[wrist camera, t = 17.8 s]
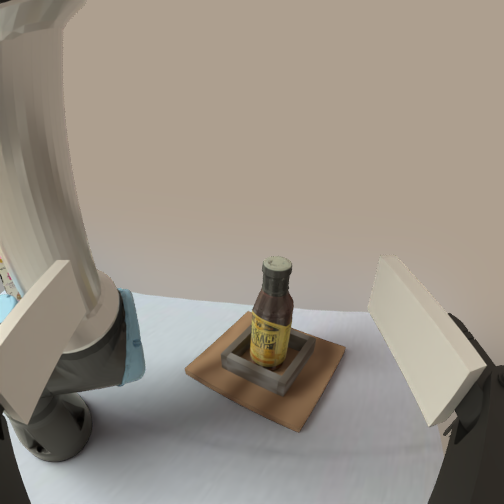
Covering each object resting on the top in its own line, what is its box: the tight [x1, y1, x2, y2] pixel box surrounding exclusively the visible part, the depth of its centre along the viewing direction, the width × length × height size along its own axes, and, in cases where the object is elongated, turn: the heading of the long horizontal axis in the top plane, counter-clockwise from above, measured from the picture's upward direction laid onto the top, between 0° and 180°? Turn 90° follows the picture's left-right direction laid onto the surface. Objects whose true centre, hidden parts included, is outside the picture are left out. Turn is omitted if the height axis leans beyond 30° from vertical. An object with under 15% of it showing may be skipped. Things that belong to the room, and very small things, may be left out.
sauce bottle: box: [250, 256, 294, 371], centre depth 45 cm, size 7×6×20 cm
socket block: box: [185, 311, 346, 433], centre depth 49 cm, size 22×20×5 cm
